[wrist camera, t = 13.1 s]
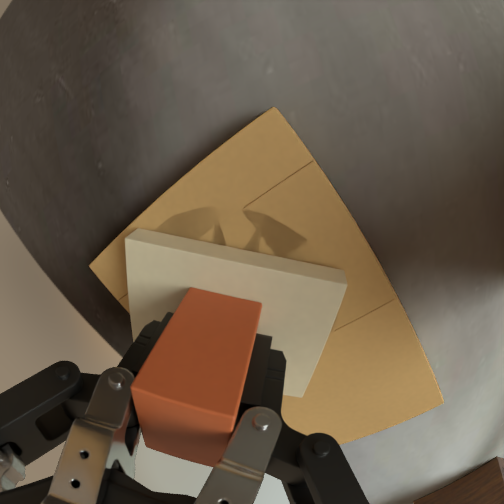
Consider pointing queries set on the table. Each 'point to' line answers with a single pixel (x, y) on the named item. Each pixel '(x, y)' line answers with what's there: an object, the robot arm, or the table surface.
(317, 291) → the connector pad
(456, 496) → the tissue box cover
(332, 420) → the base pad
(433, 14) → the table surface
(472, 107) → the table surface
